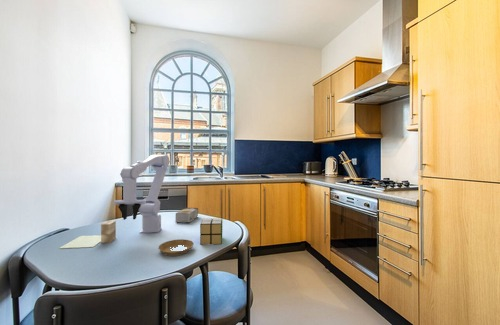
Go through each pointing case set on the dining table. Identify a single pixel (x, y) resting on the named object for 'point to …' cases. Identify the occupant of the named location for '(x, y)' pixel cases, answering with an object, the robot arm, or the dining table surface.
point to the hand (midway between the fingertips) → (129, 219)
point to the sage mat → (83, 242)
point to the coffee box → (186, 215)
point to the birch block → (108, 231)
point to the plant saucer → (174, 243)
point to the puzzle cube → (211, 231)
